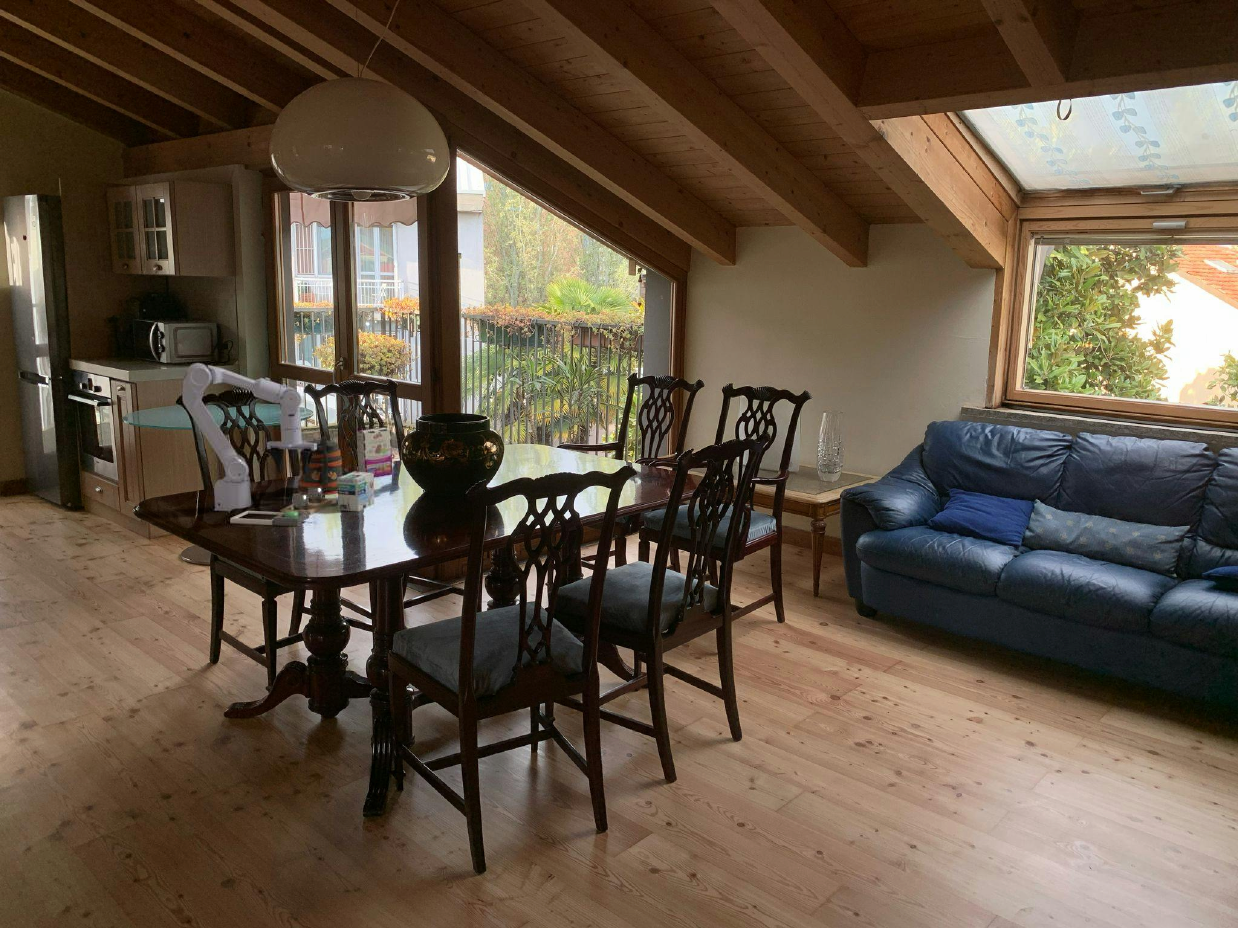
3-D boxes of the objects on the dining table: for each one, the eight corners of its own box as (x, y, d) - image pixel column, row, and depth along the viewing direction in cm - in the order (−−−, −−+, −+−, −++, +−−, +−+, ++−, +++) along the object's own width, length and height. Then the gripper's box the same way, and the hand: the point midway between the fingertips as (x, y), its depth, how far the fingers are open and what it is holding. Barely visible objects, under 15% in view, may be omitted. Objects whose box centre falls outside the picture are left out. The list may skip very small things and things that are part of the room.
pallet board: (280, 517, 266) (280, 509, 265) (307, 504, 282) (307, 497, 282) (310, 518, 265) (310, 511, 264) (335, 505, 281) (335, 498, 281)
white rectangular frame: (230, 524, 257) (230, 518, 257) (247, 516, 266) (247, 510, 266) (272, 526, 256) (271, 520, 255) (287, 518, 265) (287, 512, 264)
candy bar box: (384, 472, 332) (383, 427, 329) (393, 474, 329) (391, 428, 326) (357, 476, 324) (355, 430, 321) (365, 478, 321) (364, 431, 318)
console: (273, 526, 256) (273, 517, 255) (285, 520, 262) (285, 511, 262) (297, 527, 255) (297, 519, 254) (309, 521, 262) (309, 513, 261)
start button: (282, 520, 257) (282, 513, 257) (288, 517, 260) (288, 510, 260) (294, 521, 256) (294, 514, 256) (300, 518, 260) (300, 511, 260)
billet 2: (306, 505, 276) (305, 488, 275) (312, 502, 280) (311, 485, 279) (319, 505, 276) (318, 489, 275) (325, 502, 279) (324, 486, 278)
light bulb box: (358, 515, 270) (357, 479, 268) (337, 513, 271) (336, 477, 269) (375, 507, 280) (374, 472, 278) (354, 505, 282) (353, 470, 280)
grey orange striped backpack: (355, 499, 290) (353, 435, 287) (307, 503, 283) (304, 439, 279) (339, 487, 306) (337, 427, 303) (293, 491, 299) (290, 430, 295)
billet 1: (290, 512, 267) (289, 495, 266) (299, 509, 271) (298, 492, 270) (302, 513, 266) (301, 496, 265) (310, 510, 269) (310, 493, 269)
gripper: (261, 429, 273) (263, 474, 276) (309, 431, 272) (311, 476, 275) (272, 426, 280) (274, 470, 282) (318, 427, 279) (320, 471, 281)
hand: (293, 473), depth 279 cm, fingers open, 7 cm apart
